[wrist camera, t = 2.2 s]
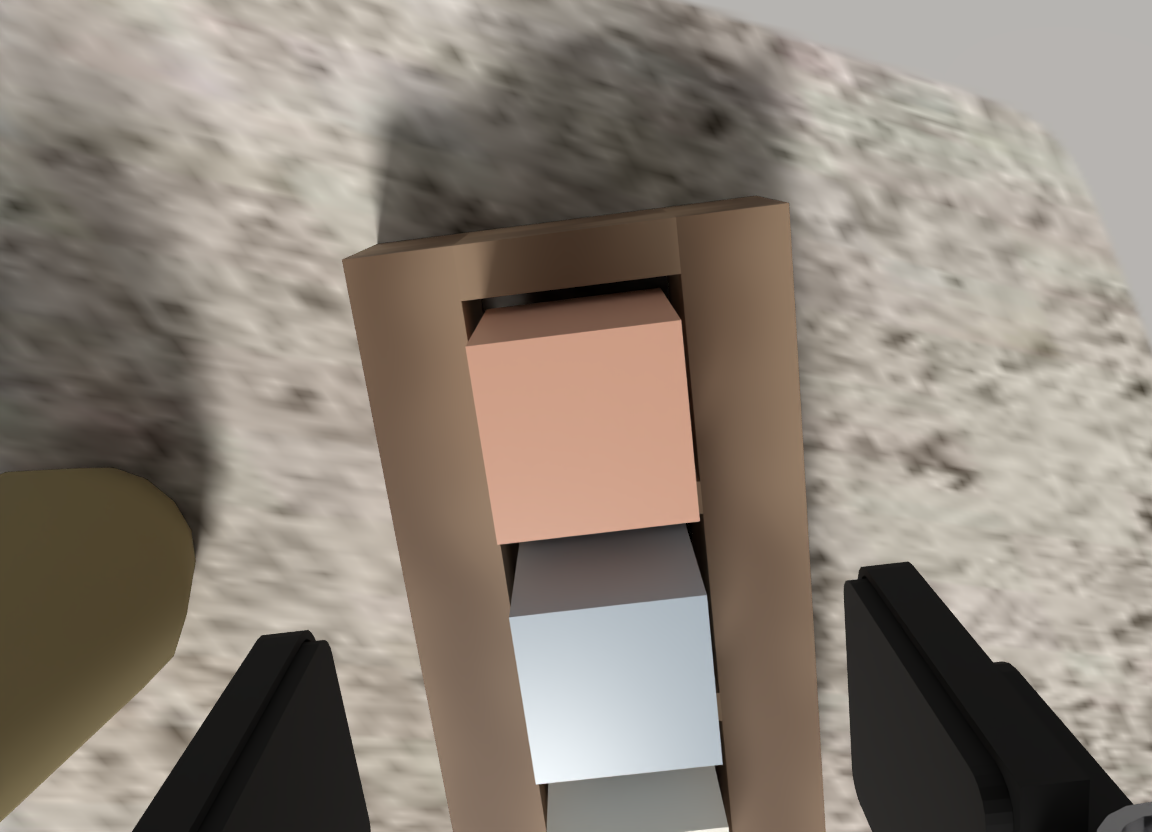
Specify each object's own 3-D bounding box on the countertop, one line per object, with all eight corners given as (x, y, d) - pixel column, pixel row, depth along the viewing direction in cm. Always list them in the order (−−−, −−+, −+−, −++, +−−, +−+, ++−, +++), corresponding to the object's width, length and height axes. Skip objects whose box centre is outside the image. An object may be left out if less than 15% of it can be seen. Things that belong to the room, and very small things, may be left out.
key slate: (682, 514, 28) (707, 595, 23) (696, 658, 29) (722, 764, 24) (521, 533, 28) (508, 617, 23) (542, 675, 29) (535, 784, 24)
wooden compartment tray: (756, 195, 28) (789, 202, 24) (798, 811, 35) (830, 904, 30) (377, 243, 29) (342, 259, 24) (486, 843, 35) (474, 940, 31)
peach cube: (660, 287, 26) (680, 319, 21) (676, 452, 27) (699, 521, 22) (486, 309, 26) (465, 346, 21) (511, 472, 27) (497, 544, 22)
